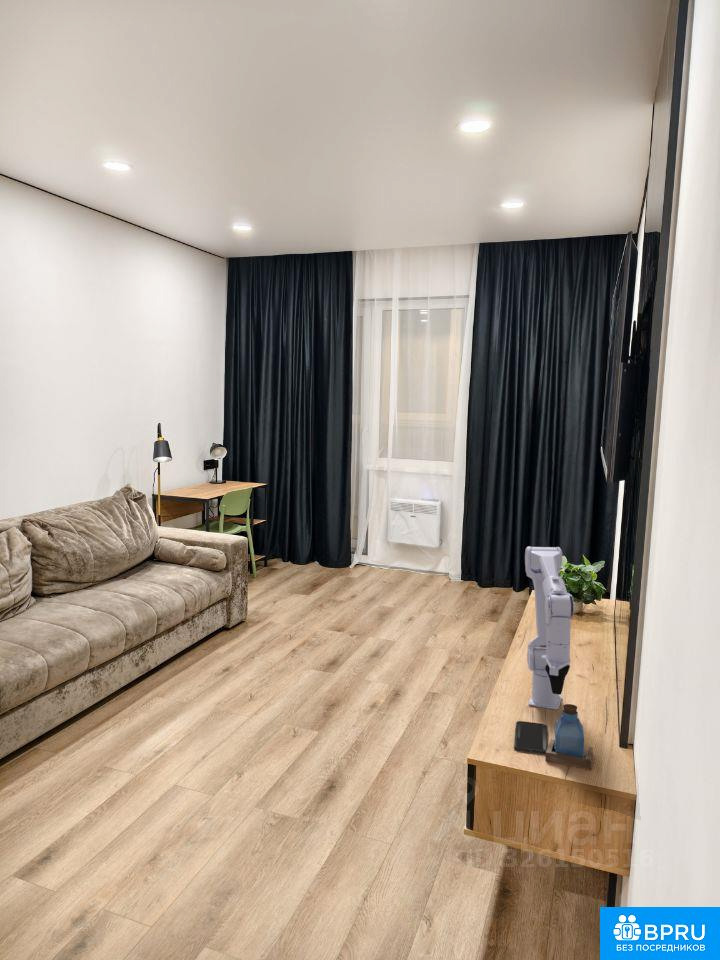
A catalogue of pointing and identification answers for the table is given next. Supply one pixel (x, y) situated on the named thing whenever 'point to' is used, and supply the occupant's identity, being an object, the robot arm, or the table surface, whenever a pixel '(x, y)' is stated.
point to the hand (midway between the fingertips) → (556, 693)
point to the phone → (530, 737)
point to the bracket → (568, 757)
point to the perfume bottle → (569, 733)
